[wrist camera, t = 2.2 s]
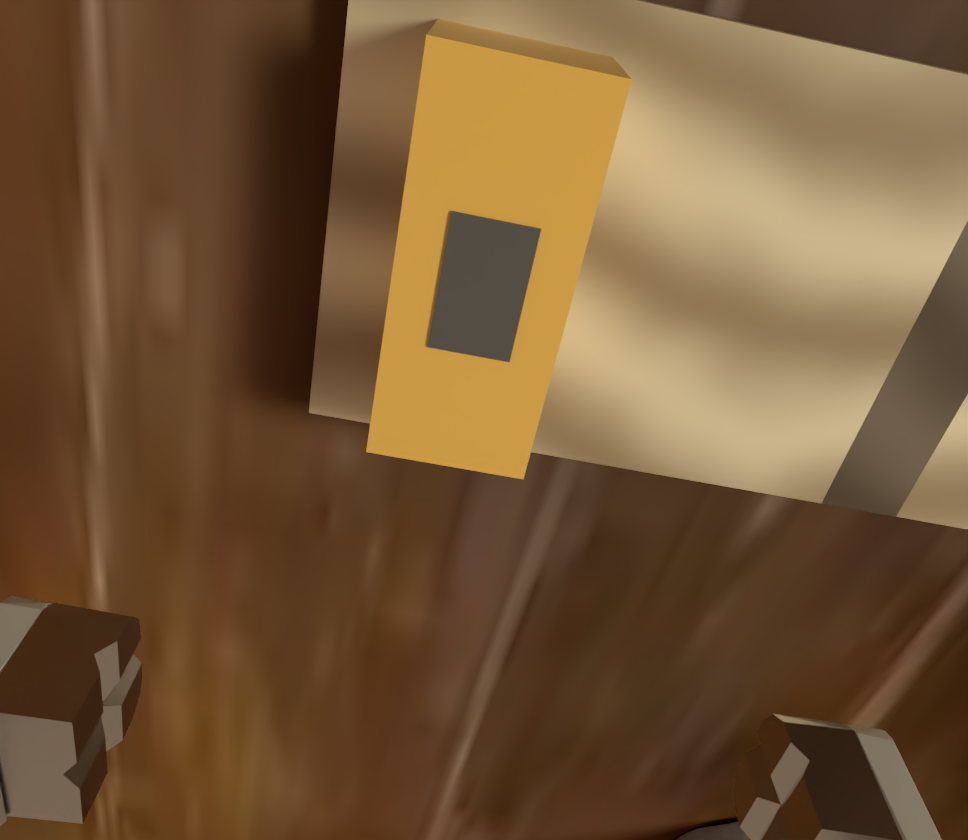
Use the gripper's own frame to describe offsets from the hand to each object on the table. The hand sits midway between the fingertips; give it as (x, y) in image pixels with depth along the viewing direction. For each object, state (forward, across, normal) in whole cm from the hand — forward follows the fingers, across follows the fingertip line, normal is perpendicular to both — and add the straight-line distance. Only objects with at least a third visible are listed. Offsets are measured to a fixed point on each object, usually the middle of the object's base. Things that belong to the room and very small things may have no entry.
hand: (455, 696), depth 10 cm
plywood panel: (+19, -8, 0) cm, 21 cm away
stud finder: (+18, 0, 0) cm, 18 cm away
